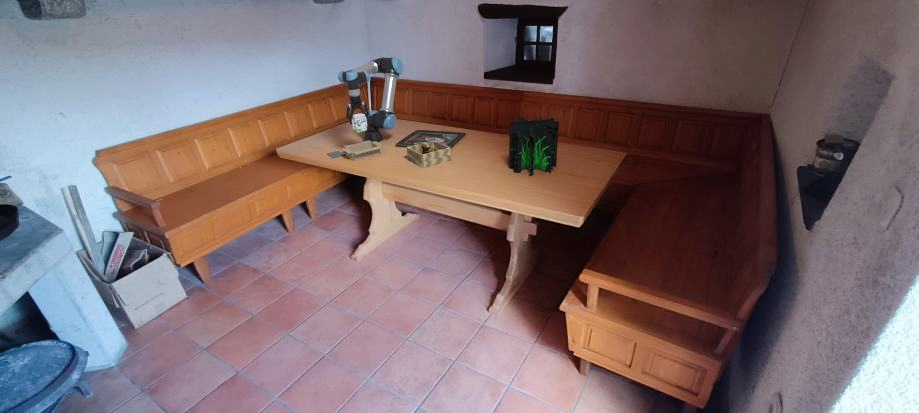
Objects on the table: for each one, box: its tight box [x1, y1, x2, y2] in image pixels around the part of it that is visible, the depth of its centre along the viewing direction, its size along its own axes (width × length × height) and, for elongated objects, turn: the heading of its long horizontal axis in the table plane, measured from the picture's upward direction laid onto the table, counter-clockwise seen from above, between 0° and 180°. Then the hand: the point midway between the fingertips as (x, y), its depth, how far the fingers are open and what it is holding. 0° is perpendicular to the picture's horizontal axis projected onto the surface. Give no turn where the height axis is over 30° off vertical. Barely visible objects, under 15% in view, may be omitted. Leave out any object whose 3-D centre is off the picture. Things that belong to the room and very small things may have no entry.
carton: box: [342, 140, 383, 162], centre depth 307 cm, size 26×22×6 cm
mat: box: [326, 150, 345, 159], centre depth 311 cm, size 9×12×1 cm
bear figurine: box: [422, 143, 434, 154], centre depth 293 cm, size 14×15×12 cm
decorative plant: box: [508, 115, 560, 177], centre depth 267 cm, size 29×30×30 cm
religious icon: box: [395, 129, 467, 149], centre depth 331 cm, size 40×45×3 cm
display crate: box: [406, 140, 452, 169], centre depth 292 cm, size 23×22×9 cm
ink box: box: [352, 112, 367, 134], centre depth 298 cm, size 9×5×12 cm, turn 137°
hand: (359, 127), depth 300 cm, fingers closed on ink box, 9 cm apart
